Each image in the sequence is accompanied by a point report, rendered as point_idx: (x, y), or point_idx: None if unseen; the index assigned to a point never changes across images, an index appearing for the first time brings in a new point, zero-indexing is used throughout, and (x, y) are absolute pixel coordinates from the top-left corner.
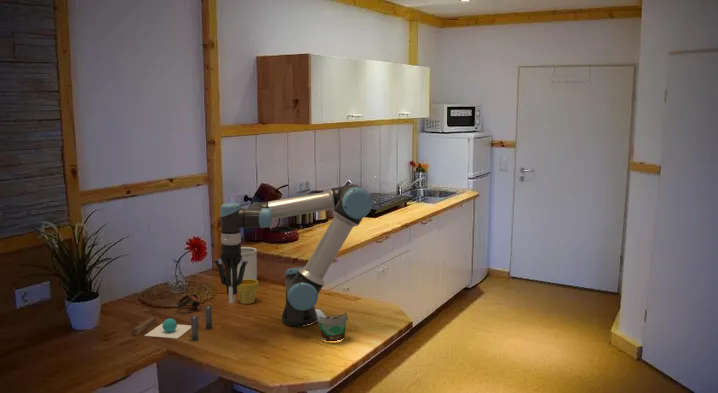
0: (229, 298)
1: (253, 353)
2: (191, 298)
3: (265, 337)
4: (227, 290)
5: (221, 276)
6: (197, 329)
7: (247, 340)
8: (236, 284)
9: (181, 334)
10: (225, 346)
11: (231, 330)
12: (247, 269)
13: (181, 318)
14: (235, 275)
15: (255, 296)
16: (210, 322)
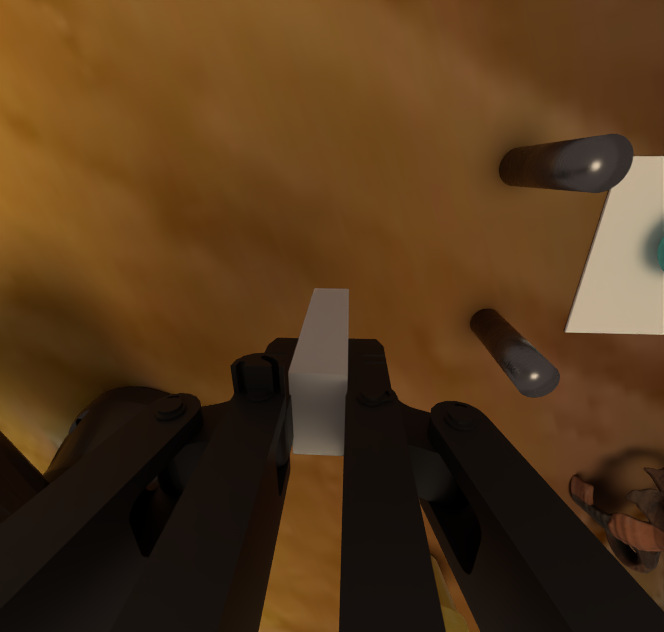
0: (342, 304)
1: (134, 30)
2: (652, 527)
3: (189, 261)
4: (374, 360)
5: (564, 555)
6: (528, 162)
7: (250, 209)
8: (219, 416)
9: (607, 212)
10: (322, 100)
11: (372, 312)
12: None
13: (640, 404)
14: (146, 602)
15: None
16: (485, 328)
